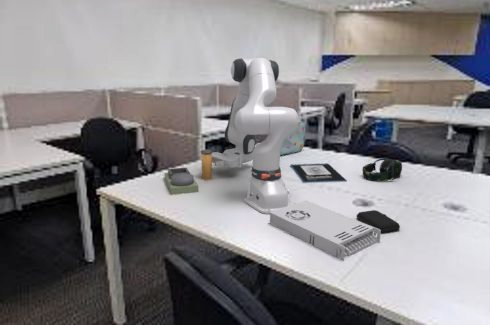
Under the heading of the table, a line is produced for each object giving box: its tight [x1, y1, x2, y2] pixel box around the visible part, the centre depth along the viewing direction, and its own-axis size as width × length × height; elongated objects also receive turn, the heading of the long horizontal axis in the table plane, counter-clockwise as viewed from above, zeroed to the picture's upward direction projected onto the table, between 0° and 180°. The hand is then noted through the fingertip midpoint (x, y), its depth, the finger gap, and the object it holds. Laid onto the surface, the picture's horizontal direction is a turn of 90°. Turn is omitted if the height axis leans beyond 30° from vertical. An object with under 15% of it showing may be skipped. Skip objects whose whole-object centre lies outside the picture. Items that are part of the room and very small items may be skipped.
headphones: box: [362, 157, 403, 182], centre depth 189 cm, size 13×13×20 cm
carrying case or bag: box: [356, 209, 401, 234], centre depth 137 cm, size 11×3×15 cm
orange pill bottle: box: [200, 149, 213, 181], centre depth 186 cm, size 5×5×14 cm
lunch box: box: [280, 120, 307, 156], centre depth 236 cm, size 27×10×21 cm, turn 130°
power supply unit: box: [269, 200, 382, 261], centre depth 130 cm, size 19×33×5 cm, turn 38°
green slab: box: [164, 167, 199, 196], centre depth 177 cm, size 24×12×6 cm, turn 18°
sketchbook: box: [290, 162, 348, 184], centre depth 197 cm, size 22×30×2 cm
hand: (209, 162), depth 187 cm, fingers open, 8 cm apart
